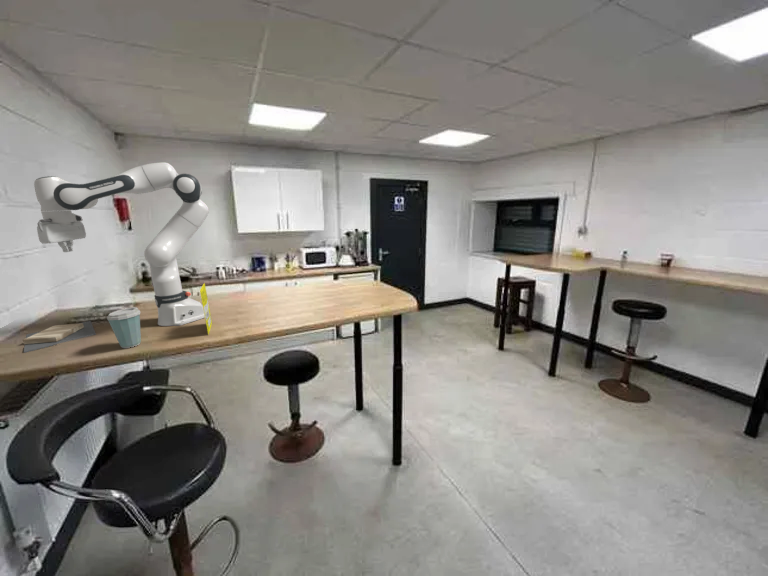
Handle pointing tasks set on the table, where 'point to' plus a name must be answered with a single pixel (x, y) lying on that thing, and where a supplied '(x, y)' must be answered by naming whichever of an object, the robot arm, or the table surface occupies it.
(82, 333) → the charcoal mat
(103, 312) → the table surface
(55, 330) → the ash tile
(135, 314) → the disposable coffee cup
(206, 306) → the food package
